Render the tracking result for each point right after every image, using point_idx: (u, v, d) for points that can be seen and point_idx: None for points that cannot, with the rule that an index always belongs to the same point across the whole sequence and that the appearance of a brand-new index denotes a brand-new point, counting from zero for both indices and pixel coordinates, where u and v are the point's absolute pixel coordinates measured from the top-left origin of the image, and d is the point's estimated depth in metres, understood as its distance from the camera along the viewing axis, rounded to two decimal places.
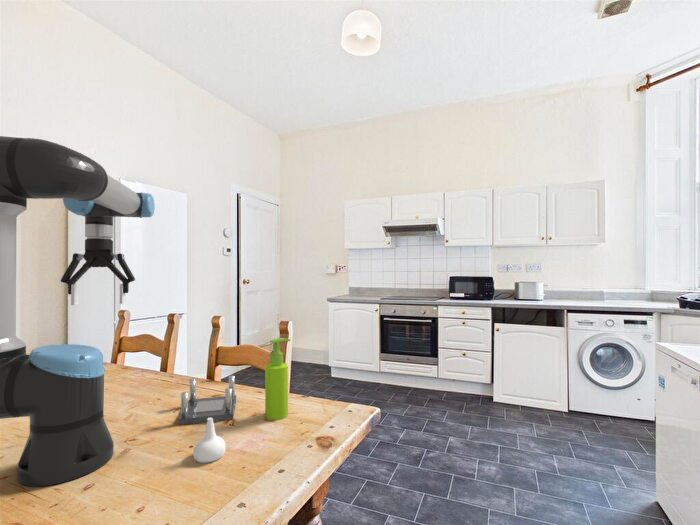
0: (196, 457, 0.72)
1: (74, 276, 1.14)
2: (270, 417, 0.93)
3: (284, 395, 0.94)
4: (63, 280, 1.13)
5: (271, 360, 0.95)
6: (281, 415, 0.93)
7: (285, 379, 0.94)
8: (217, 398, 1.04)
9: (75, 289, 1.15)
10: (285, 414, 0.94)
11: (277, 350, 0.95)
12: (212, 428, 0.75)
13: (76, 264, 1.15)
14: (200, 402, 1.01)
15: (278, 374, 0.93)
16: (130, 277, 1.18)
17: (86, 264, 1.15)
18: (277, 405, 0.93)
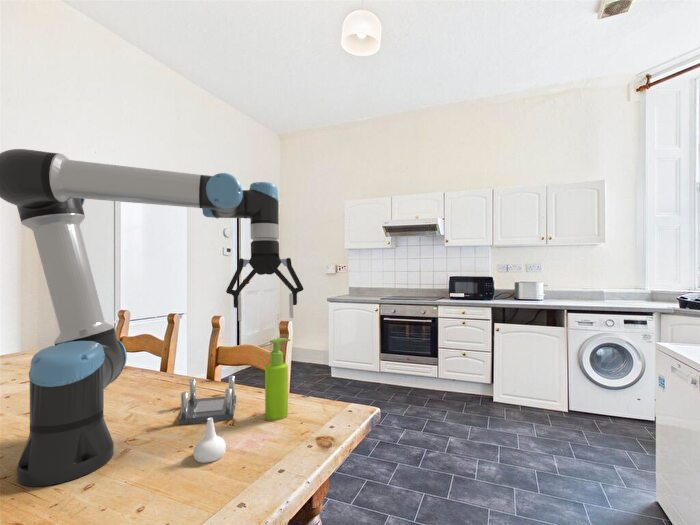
0: (196, 457, 0.72)
1: (241, 286, 0.95)
2: (270, 417, 0.93)
3: (284, 395, 0.94)
4: (229, 291, 0.94)
5: (271, 360, 0.95)
6: (281, 415, 0.93)
7: (285, 379, 0.94)
8: (217, 398, 1.04)
9: None
10: (285, 414, 0.94)
11: (277, 350, 0.95)
12: (212, 428, 0.75)
13: None
14: (200, 402, 1.01)
15: (278, 374, 0.93)
16: (301, 286, 0.99)
17: (254, 271, 0.96)
18: (277, 405, 0.93)
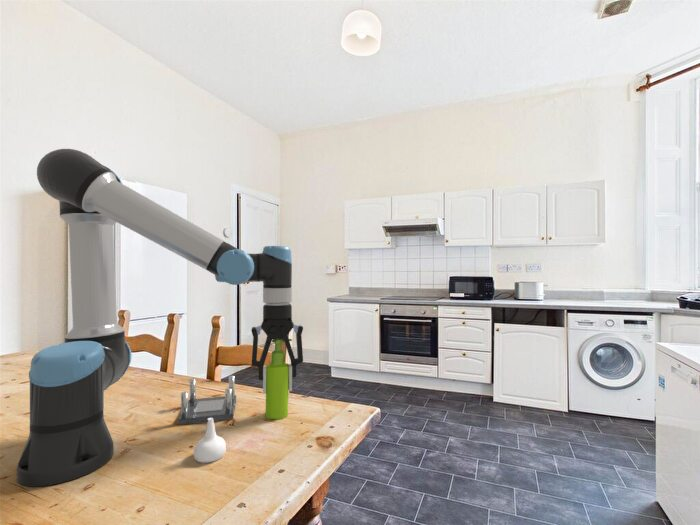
0: (196, 457, 0.72)
1: (263, 357, 0.94)
2: (270, 417, 0.93)
3: (285, 395, 0.94)
4: (254, 363, 0.93)
5: (273, 359, 0.95)
6: (281, 415, 0.93)
7: (286, 379, 0.94)
8: (217, 398, 1.04)
9: None
10: (285, 414, 0.94)
11: (279, 350, 0.95)
12: (212, 428, 0.75)
13: None
14: (200, 402, 1.01)
15: (279, 374, 0.93)
16: (301, 358, 0.97)
17: (270, 338, 0.94)
18: (277, 405, 0.93)
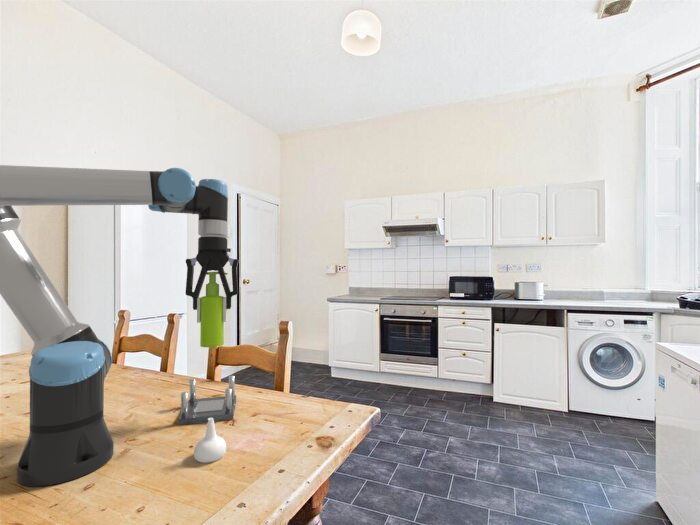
0: (197, 457, 0.72)
1: (197, 287, 0.97)
2: (203, 345, 0.95)
3: (218, 324, 0.96)
4: (188, 293, 0.96)
5: (206, 291, 0.97)
6: (214, 343, 0.96)
7: (219, 309, 0.97)
8: (217, 398, 1.04)
9: (200, 303, 0.97)
10: (219, 343, 0.97)
11: (213, 281, 0.98)
12: (213, 428, 0.75)
13: (192, 271, 0.98)
14: (200, 402, 1.01)
15: (211, 303, 0.96)
16: (236, 290, 0.99)
17: (204, 269, 0.97)
18: (210, 333, 0.95)
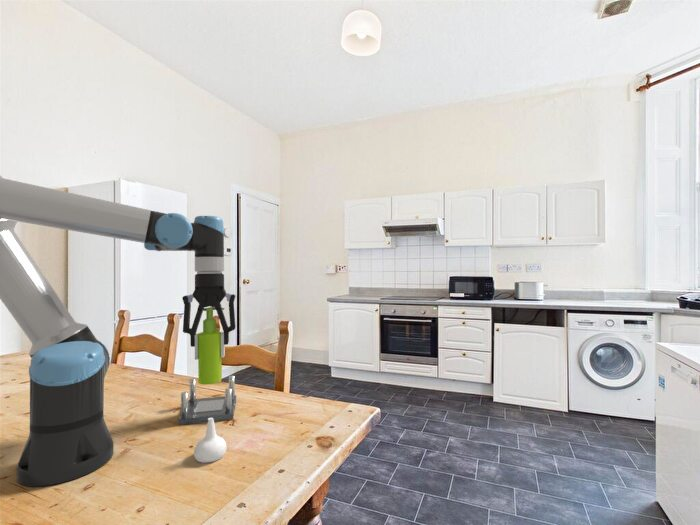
0: (197, 457, 0.72)
1: (194, 324, 0.97)
2: (202, 382, 0.95)
3: (216, 361, 0.97)
4: (186, 330, 0.96)
5: (204, 327, 0.97)
6: (213, 380, 0.96)
7: (217, 346, 0.97)
8: (217, 398, 1.04)
9: None
10: (217, 379, 0.97)
11: (210, 318, 0.98)
12: (213, 428, 0.75)
13: (189, 307, 0.98)
14: (200, 402, 1.01)
15: (209, 341, 0.96)
16: (233, 325, 0.99)
17: (201, 306, 0.97)
18: (208, 370, 0.95)
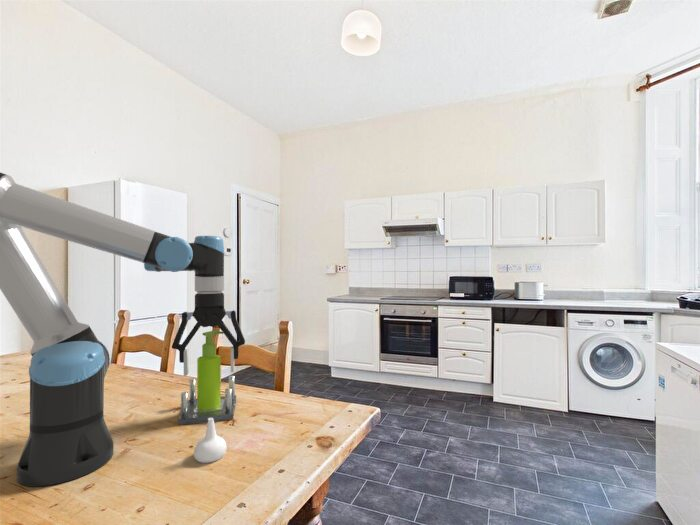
0: (197, 457, 0.72)
1: (186, 340, 0.96)
2: (201, 407, 0.95)
3: (215, 386, 0.96)
4: (174, 346, 0.95)
5: (203, 352, 0.97)
6: (211, 405, 0.96)
7: (216, 370, 0.97)
8: None
9: (187, 356, 0.97)
10: (216, 405, 0.97)
11: (209, 342, 0.98)
12: (213, 428, 0.75)
13: (185, 325, 0.97)
14: None
15: (208, 366, 0.95)
16: (242, 340, 1.00)
17: (198, 325, 0.96)
18: (207, 396, 0.95)
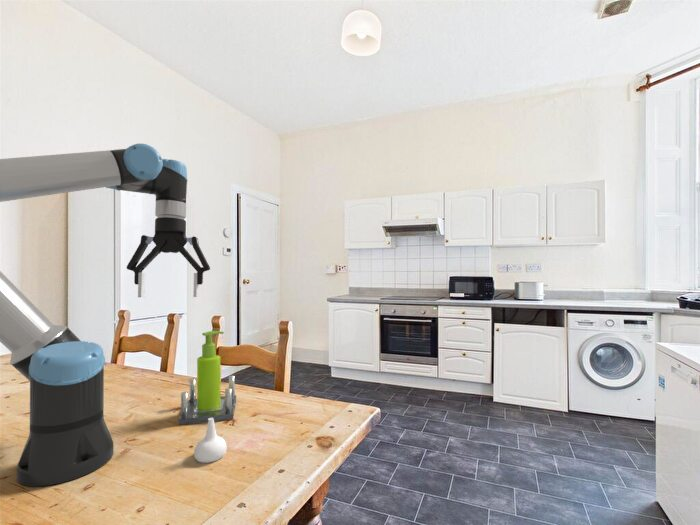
0: (197, 457, 0.72)
1: (142, 262, 0.95)
2: (200, 407, 0.95)
3: (215, 386, 0.96)
4: (129, 267, 0.94)
5: (203, 352, 0.97)
6: (211, 405, 0.96)
7: (216, 370, 0.97)
8: None
9: (142, 278, 0.96)
10: (216, 405, 0.97)
11: (209, 342, 0.98)
12: (213, 428, 0.75)
13: (144, 248, 0.96)
14: None
15: (208, 366, 0.95)
16: (206, 265, 0.98)
17: (156, 248, 0.95)
18: (207, 396, 0.95)
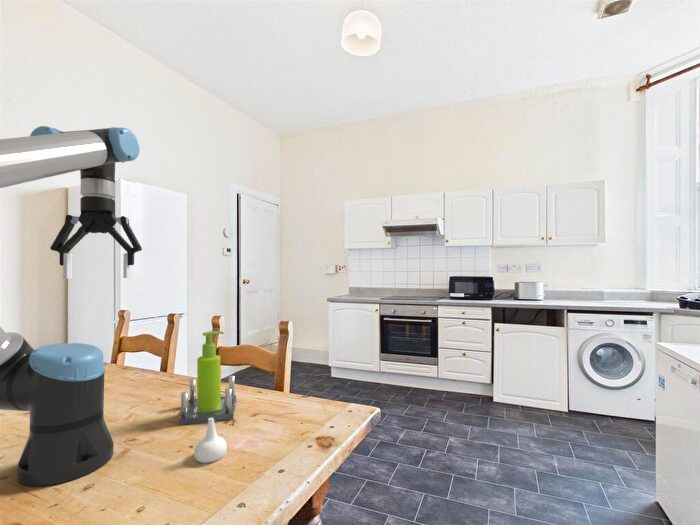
0: (197, 457, 0.72)
1: (67, 243, 0.92)
2: (200, 407, 0.95)
3: (215, 386, 0.96)
4: (53, 247, 0.92)
5: (203, 352, 0.97)
6: (211, 405, 0.96)
7: (216, 371, 0.97)
8: None
9: (68, 259, 0.93)
10: (216, 405, 0.97)
11: (209, 342, 0.98)
12: (213, 428, 0.75)
13: (70, 228, 0.94)
14: None
15: (208, 366, 0.95)
16: (136, 245, 0.96)
17: (82, 228, 0.93)
18: (207, 396, 0.95)
